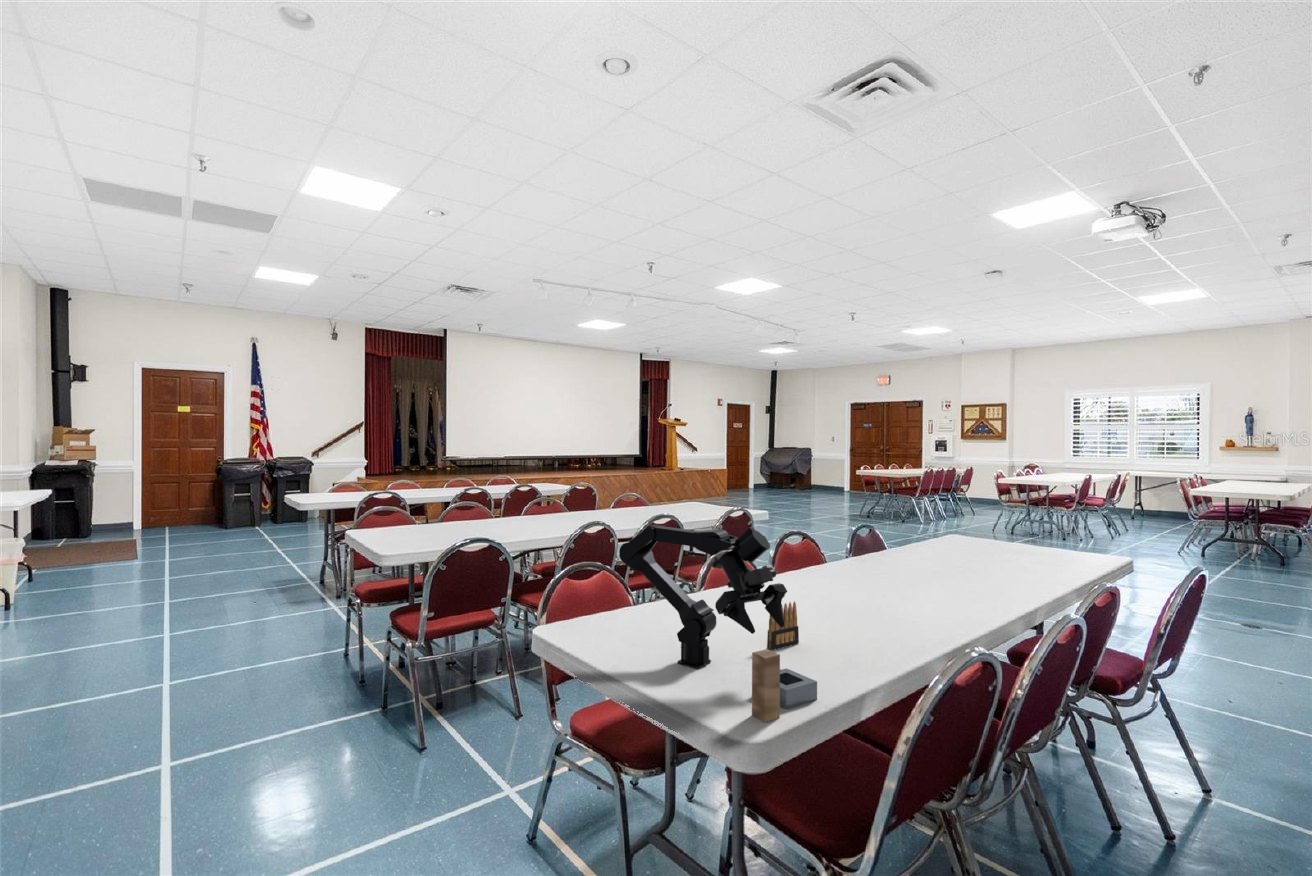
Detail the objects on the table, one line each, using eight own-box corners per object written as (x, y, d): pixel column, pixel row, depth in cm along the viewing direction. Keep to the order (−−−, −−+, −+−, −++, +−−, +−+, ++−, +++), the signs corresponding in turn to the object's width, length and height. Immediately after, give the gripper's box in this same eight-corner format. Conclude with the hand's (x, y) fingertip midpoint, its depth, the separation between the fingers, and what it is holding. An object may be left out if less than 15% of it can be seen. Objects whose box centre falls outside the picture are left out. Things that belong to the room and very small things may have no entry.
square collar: (756, 694, 139) (756, 676, 139) (786, 685, 144) (786, 668, 144) (786, 709, 131) (786, 690, 131) (817, 699, 136) (817, 681, 136)
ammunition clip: (794, 642, 176) (794, 600, 177) (798, 643, 175) (799, 601, 175) (766, 648, 171) (767, 605, 171) (771, 650, 169) (771, 606, 169)
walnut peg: (751, 715, 128) (752, 652, 128) (766, 710, 130) (766, 649, 130) (765, 722, 125) (765, 658, 125) (779, 718, 127) (779, 654, 127)
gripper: (723, 557, 142) (755, 616, 133) (782, 550, 152) (815, 605, 143) (702, 584, 148) (731, 643, 139) (760, 576, 159) (790, 630, 149)
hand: (768, 629), depth 142 cm, fingers open, 9 cm apart
